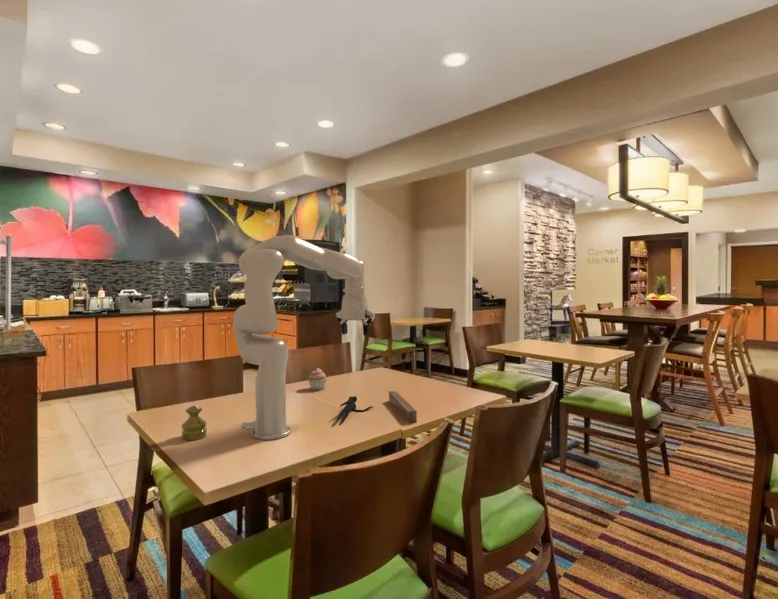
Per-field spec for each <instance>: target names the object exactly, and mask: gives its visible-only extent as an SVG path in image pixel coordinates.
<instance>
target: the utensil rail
mask: <svg viewBox="0 0 778 599" xmlns="http://www.w3.org/2000/svg"><path fill="white" fill-rule="evenodd" d="M388 402H389V403H390V402H391V403H392V404H393V405H392V404H391V403H390V404H391V405H392V406H393V407H394V409H395V410H396V411H397V410H398V411H399V412H400V413H399V412H398V413H399V414H400V416H402V417H403V419H404V420H405V419H406V420H405V421H406V422H407V423H408V424H409V423H410V422H413V423H417V422H418V421H417V419H418V418H417V417H418V416H417V414H418V412H417V410H416V409H415V408H414V407H413V406H412V405H411V404H410V403H409V402H408V401H407V400H406V399H405V398H404V397H403V396H402V395H401V394H400V393H399V392H397V391H396V390H391V391H388Z"/></svg>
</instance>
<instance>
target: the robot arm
mask: <svg viewBox="0 0 778 599" xmlns="http://www.w3.org/2000/svg"><path fill="white" fill-rule="evenodd" d="M284 261H289V262H291V263H294V264H297V265H299V266H302V267H305V268H307V269H309V270H313V271H314V270H315V271H321V272H322V271H325V272H326V274H327V276H328V277H330V278H331V279H333V280H344V282H345V287H344V288H343V289H342V292H343V293H345V295H342V302H341V310H339V311H338V312H335V317H336V318H337V321H338V322H339V324H340V325H341V326H340V327H341V334H342V335H347V334H348V324H347V323H348V321H357V322H358V321H361V322H362V323H363V325H362V328H363V329H362V330H363V336H368V335H369V334H370V325H371V324H372V323H373V321H374V319H375V317H376V314H375V313H374V312H372V311H371V310H369V308H368V306H369V305H368V300H367V296H366V295H365V263H364V262H363V261H362V260H358V259H357V258H356V257H354V256H351V255H349V254H347V253H344V252H339V251H336V250H332V249H328V248H326V247H325V248H324V247H320V246H317V244H316V245H315V244H313V243H311V242H309V241H307V240H304V239H302V238H301V237H298V236H295V235H291V234H289V235H288V234H287V235H286V234H285V235H278V236H272V237H269V238H267V239H265V240H264V241H262V242H260V243H258V244H256V245H254V246H253V247H250V248H249V249H246V250H245V251H244V252H243V253H242V254H241V255H240V256H239V260H238V267H239V270H240V271H241V272H242V273H243V274H244V275H247V277H246V280H245V282H244V287H243V293H244V294H243V295H244V301H245V304H243V305H241V306H239V307H238V308H237V309H236V310H235V312H234V314H233V317H232V318H233V319H232V324H233V331H234V335H235V340H236V343H237V349H238V353H239V355H240V357H241V359H242V360H243V361H245V363H248V364H252V365H258V369H257V372H256V375H255V383H254V384H255V385H254V386H255V420H251V421H250V422H241V429H242V430H244V431H251V432H250V436H251V438H254V439H257V440H262V441H263V440H265V441H266V440H268V441H269V440H276V439H281V438H284V437H285V438H286V437H287V436H289V435H290V434H291V433H292V427H291V426H289V425H288V424H287V395H286V394H287V393H286V392H287V391H286V390H287V389H286V387H287V386H286V384H287V383H286V382H287V381H286V380H287V379H286V378H287V377H286V373H287V372H286V371H287V364H288V358H289V348H288V346H287V344H286V343H285V341H284V340H282V339H281V338H278V337H274V336H267V335H269V334H272V333H274V332H275V331H276V330H277V328H278V324H279V323H278V315H277V311H276V306H275V301H274V297H273V296H274V295H273V284H274V282H275V279H276V278H277V276H278V274H280V272H281V270H282V268H283V266H284ZM368 318H369V319H368ZM263 335H264V336H263Z"/></svg>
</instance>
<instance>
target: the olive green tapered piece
mask: <svg viewBox="0 0 778 599" xmlns="http://www.w3.org/2000/svg"><path fill="white" fill-rule="evenodd" d="M184 411H185V413H186V414H188V416H189V417H188V418H186V420H185V421H184V422H183V423H182V424H181V429H182V431H181V438H182V439H183V440H184V441H196V439H198V440H201V439H204V438H205V437H206V436H208V435H207V430H208V428H207V420H204V419H203V418H202V417H201V416H199V415H200V413H201V412H202V411H203V407H201V406H198V405H195V404H194V405H191V406H190V407H188V408H186V409H185V410H184ZM203 437H204V438H203Z"/></svg>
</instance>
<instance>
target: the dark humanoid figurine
mask: <svg viewBox="0 0 778 599" xmlns="http://www.w3.org/2000/svg"><path fill="white" fill-rule="evenodd" d="M357 401H358V397H357V396H356V395H355V396H348V399H347V401H344V402H343V403H341V404H340V405H339V408H341V407H343V406H344V407H343V408H342V410H341V411H340V412H339V414H338V416H337V418H336V420H337V421H339V420H340V418H341V420H340V422H339V424H338V426H339V425H340V426H342V424H344V422H345V421H346V419H347V418H348V417H349V414H350V413H351V412H352V411H355V412H354V413H365V412H367V411H368V410H369V409H372V408H375V406H374V405H372V406H368V407H366V408H363V409H357V405H356V402H357ZM364 411H365V412H364ZM342 416H343V417H342Z"/></svg>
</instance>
